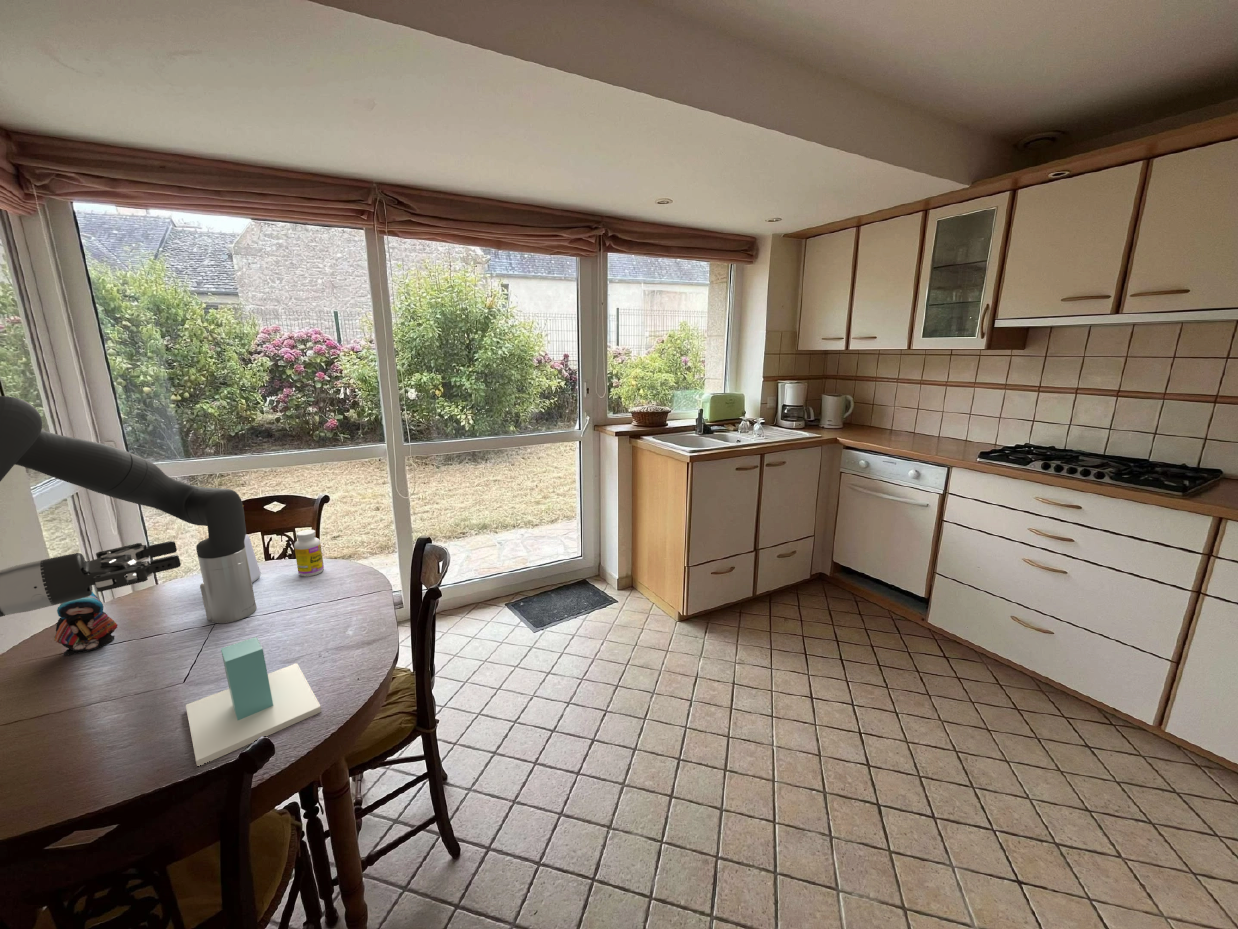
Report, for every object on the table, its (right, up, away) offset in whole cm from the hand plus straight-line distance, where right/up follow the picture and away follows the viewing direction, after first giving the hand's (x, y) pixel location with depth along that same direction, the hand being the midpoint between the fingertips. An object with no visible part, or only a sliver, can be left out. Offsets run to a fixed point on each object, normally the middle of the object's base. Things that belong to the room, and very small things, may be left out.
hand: (177, 553), depth 90 cm
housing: (+12, -29, +2) cm, 31 cm away
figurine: (-39, -26, +22) cm, 51 cm away
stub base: (+12, -30, +3) cm, 33 cm away
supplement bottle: (-12, -17, +59) cm, 63 cm away
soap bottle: (-29, -18, +54) cm, 64 cm away
